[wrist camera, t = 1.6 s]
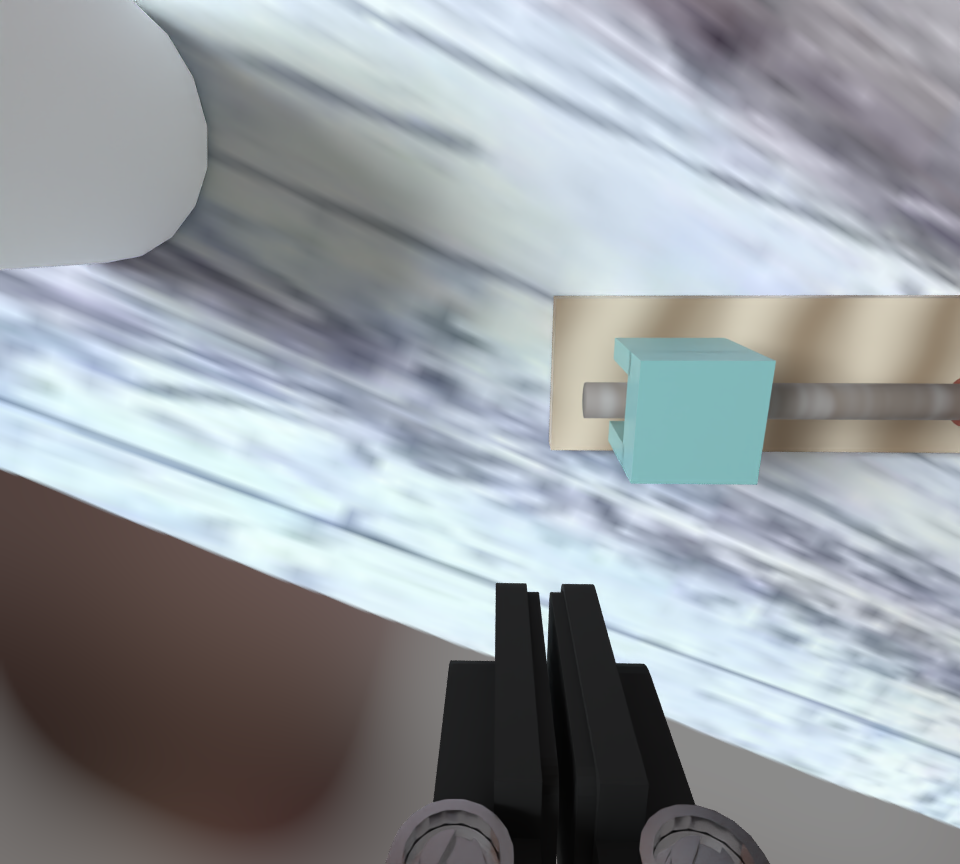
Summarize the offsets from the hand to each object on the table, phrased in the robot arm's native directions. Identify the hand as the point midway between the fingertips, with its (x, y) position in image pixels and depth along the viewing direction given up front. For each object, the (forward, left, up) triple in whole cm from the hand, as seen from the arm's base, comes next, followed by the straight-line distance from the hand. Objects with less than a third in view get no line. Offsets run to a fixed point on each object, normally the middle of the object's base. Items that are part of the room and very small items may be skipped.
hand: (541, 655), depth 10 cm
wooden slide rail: (-15, 0, -23) cm, 28 cm away
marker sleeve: (-7, 0, -19) cm, 20 cm away
